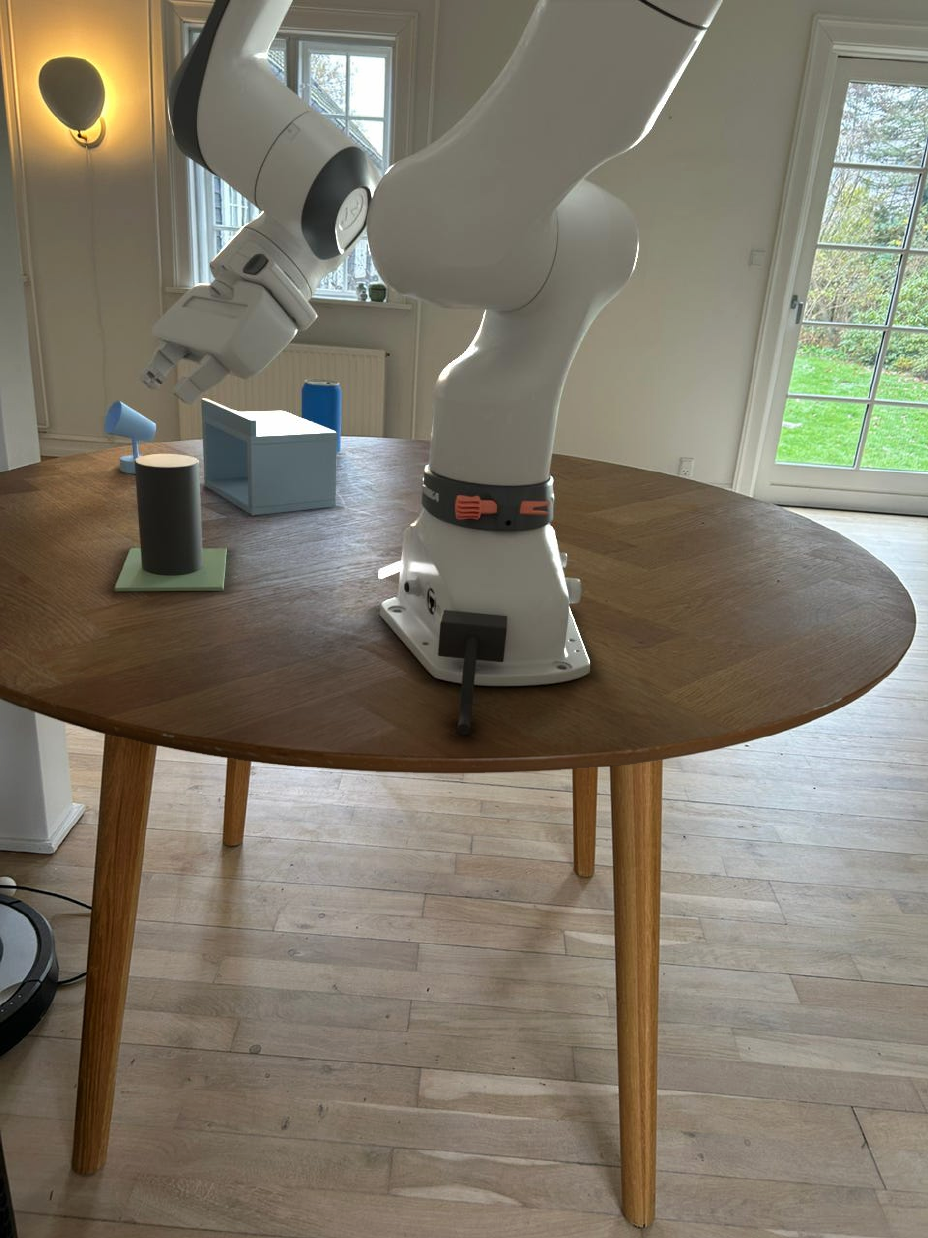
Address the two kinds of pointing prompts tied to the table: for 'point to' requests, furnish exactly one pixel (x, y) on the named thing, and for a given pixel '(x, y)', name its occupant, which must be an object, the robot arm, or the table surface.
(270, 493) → the shelf
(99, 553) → the table surface
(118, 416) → the spotlight
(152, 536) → the dark grey cylinder
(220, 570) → the mat
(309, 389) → the beverage can
